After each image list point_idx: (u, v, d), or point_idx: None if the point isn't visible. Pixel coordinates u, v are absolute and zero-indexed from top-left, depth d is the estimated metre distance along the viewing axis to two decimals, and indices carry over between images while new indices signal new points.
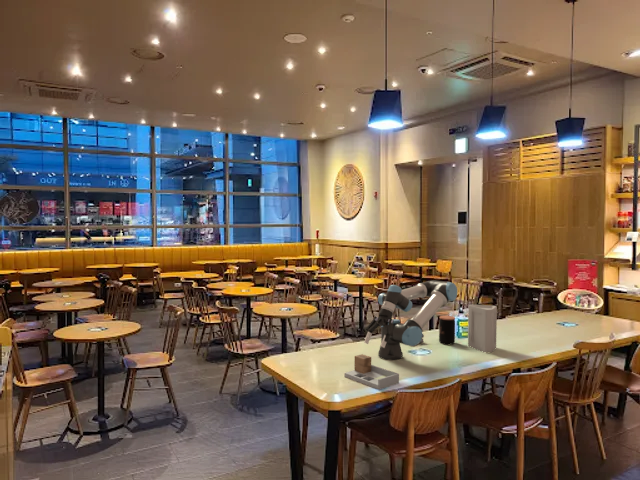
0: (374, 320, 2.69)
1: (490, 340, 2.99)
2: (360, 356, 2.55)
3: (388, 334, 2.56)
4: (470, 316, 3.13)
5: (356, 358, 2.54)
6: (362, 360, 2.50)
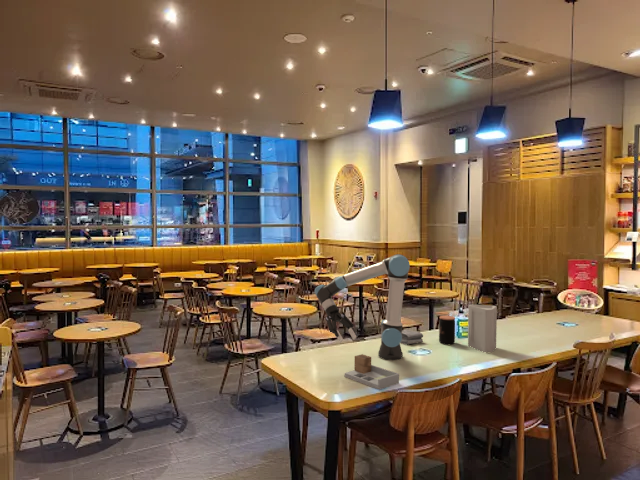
0: None
1: (490, 340, 2.99)
2: (360, 356, 2.55)
3: None
4: (470, 316, 3.13)
5: (356, 358, 2.54)
6: (362, 360, 2.50)
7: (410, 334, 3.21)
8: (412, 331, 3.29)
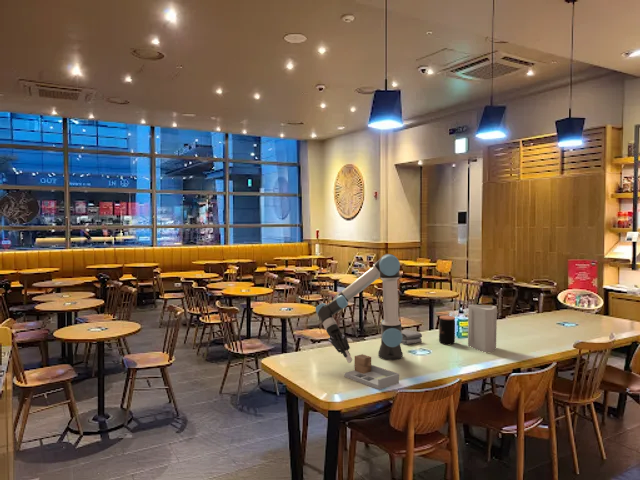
0: (342, 339, 2.73)
1: (490, 340, 2.99)
2: (360, 356, 2.55)
3: (341, 351, 2.65)
4: (470, 316, 3.13)
5: (356, 358, 2.54)
6: (362, 360, 2.50)
7: (409, 334, 3.22)
8: (411, 331, 3.29)
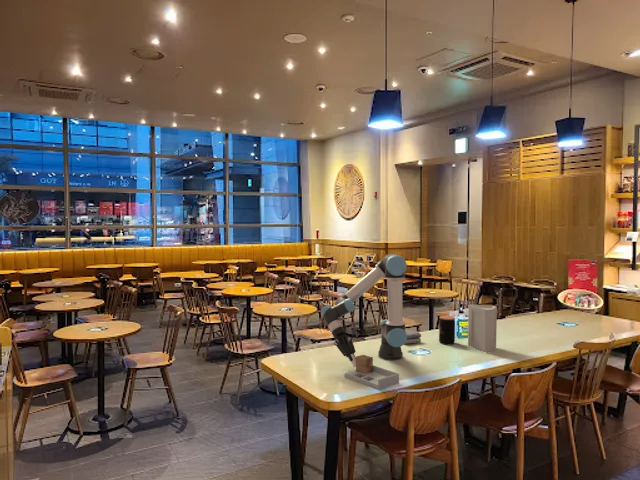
0: None
1: (490, 340, 2.99)
2: (361, 356, 2.54)
3: None
4: (470, 316, 3.13)
5: (357, 359, 2.53)
6: (364, 361, 2.50)
7: (408, 334, 3.22)
8: (410, 331, 3.30)
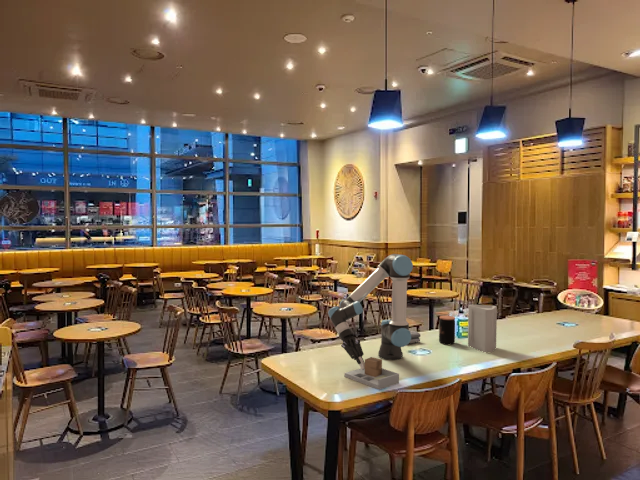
0: None
1: (490, 340, 2.99)
2: (370, 359, 2.49)
3: None
4: (470, 316, 3.13)
5: (367, 361, 2.48)
6: (374, 363, 2.45)
7: None
8: (410, 331, 3.30)
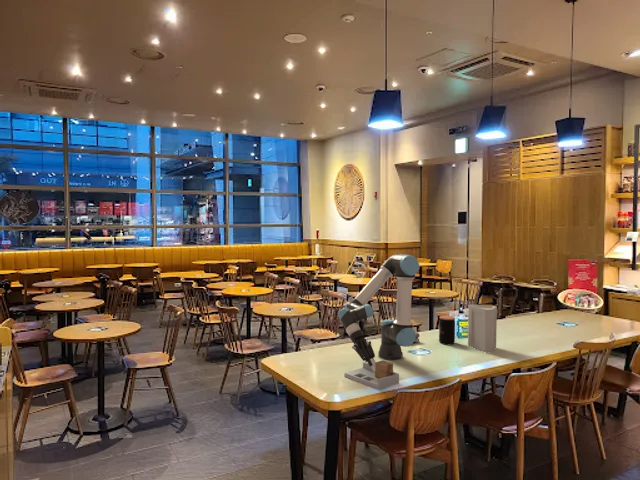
0: None
1: (490, 340, 2.99)
2: (381, 362, 2.43)
3: None
4: (470, 316, 3.13)
5: (377, 364, 2.43)
6: (385, 367, 2.39)
7: None
8: None
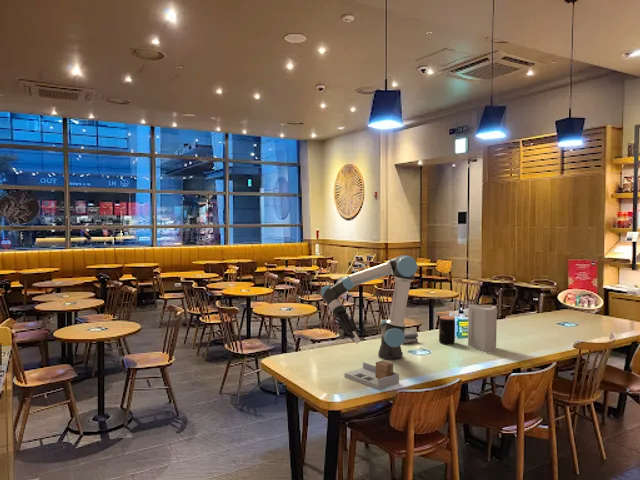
0: None
1: (490, 340, 2.99)
2: (381, 362, 2.43)
3: (348, 332, 2.62)
4: (470, 316, 3.13)
5: (377, 364, 2.43)
6: (385, 367, 2.39)
7: (405, 333, 3.23)
8: (407, 330, 3.31)
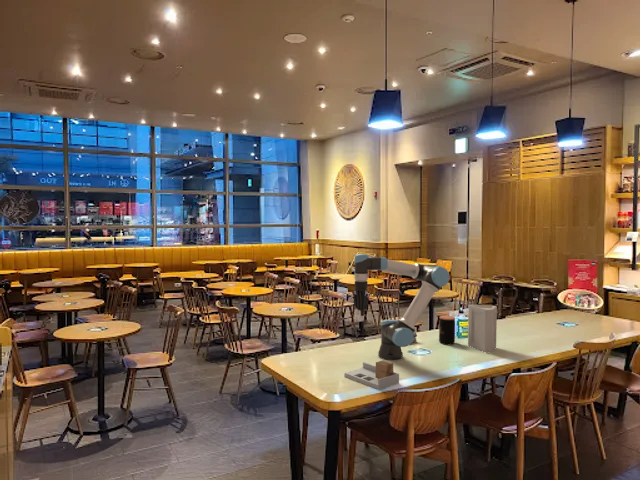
0: (354, 295, 2.72)
1: (490, 340, 2.99)
2: (381, 362, 2.43)
3: (362, 309, 2.67)
4: (470, 316, 3.13)
5: (377, 364, 2.43)
6: (385, 367, 2.39)
7: None
8: None
